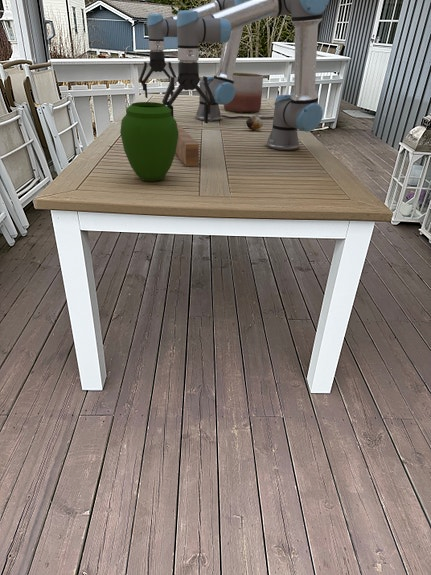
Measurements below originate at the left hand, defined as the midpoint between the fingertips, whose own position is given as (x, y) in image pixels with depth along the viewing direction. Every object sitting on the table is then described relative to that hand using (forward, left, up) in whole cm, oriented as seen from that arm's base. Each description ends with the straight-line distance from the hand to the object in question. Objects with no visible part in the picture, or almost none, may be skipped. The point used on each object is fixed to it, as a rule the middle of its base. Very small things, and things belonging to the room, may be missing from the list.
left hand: (159, 97), depth 216 cm
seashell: (-48, +18, -15) cm, 54 cm away
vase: (+28, +88, -15) cm, 94 cm away
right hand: (+7, +70, 0) cm, 70 cm away
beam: (+4, +35, -15) cm, 38 cm away
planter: (-70, -44, -15) cm, 84 cm away
